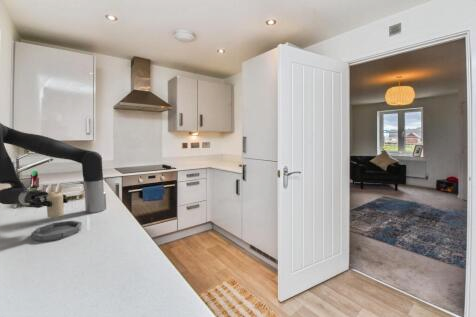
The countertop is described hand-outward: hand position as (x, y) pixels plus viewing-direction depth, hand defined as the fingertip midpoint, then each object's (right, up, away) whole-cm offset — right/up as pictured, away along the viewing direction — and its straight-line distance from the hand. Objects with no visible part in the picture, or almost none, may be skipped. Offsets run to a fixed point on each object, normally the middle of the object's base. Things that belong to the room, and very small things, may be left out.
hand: (59, 202), depth 98 cm
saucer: (-2, -14, +2) cm, 14 cm away
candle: (-2, -6, +1) cm, 7 cm away
